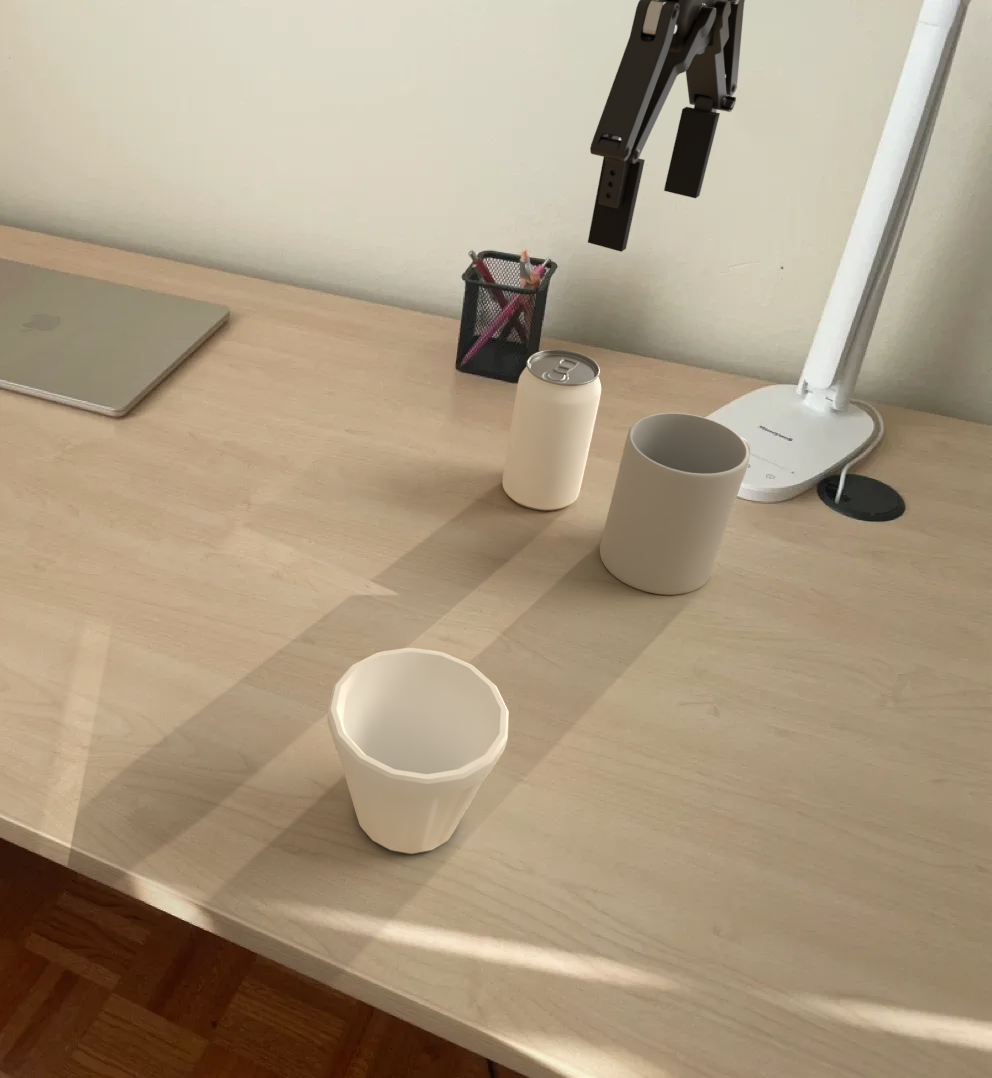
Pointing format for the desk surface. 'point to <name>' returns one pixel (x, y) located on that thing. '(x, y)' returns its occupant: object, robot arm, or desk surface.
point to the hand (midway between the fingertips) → (645, 218)
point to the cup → (415, 743)
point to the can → (551, 429)
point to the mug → (672, 502)
